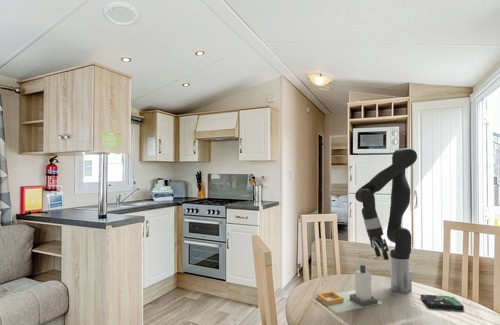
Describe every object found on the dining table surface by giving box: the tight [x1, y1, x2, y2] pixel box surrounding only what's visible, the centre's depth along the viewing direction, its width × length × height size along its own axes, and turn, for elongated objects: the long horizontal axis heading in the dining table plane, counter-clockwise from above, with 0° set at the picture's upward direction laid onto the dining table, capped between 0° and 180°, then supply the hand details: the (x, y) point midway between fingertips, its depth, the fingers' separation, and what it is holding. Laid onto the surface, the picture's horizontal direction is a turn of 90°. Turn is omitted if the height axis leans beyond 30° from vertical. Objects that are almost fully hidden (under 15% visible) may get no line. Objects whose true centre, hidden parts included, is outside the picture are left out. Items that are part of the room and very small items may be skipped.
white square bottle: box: [354, 264, 372, 301], centre depth 143 cm, size 5×5×17 cm
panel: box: [315, 289, 383, 315], centre depth 144 cm, size 26×17×3 cm, turn 110°
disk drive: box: [420, 294, 465, 312], centre depth 141 cm, size 10×3×15 cm
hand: (382, 258), depth 152 cm, fingers open, 8 cm apart
